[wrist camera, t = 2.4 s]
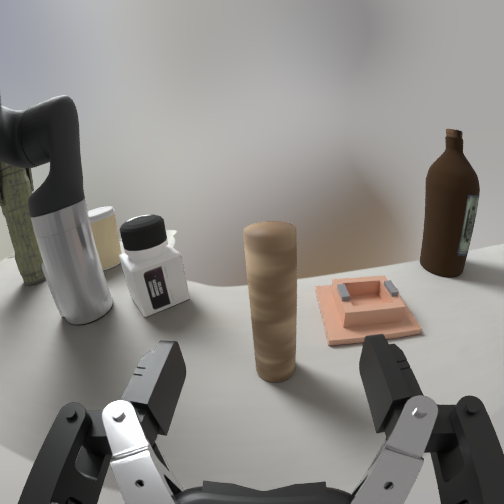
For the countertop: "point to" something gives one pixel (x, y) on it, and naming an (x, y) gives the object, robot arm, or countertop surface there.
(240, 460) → the countertop surface
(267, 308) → the tall wooden cylinder
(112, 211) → the coffee cup
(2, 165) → the thermos
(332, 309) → the clip base
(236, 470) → the countertop surface
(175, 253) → the container
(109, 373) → the countertop surface
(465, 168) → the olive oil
